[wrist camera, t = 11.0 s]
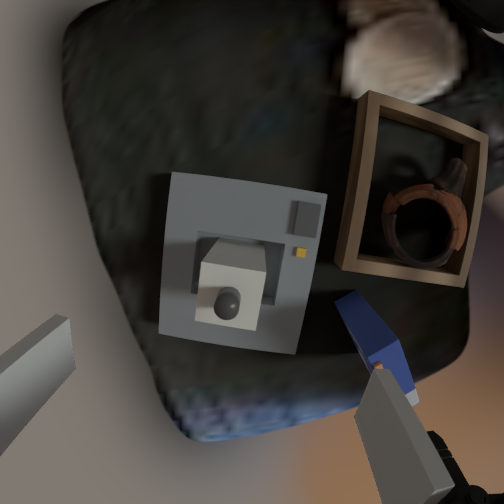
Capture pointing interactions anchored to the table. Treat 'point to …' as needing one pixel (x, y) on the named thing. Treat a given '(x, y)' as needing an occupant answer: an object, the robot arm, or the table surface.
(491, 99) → the table surface
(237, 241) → the plug
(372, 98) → the mug frame
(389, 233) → the pottery mug
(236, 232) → the socket plate
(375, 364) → the walkman
